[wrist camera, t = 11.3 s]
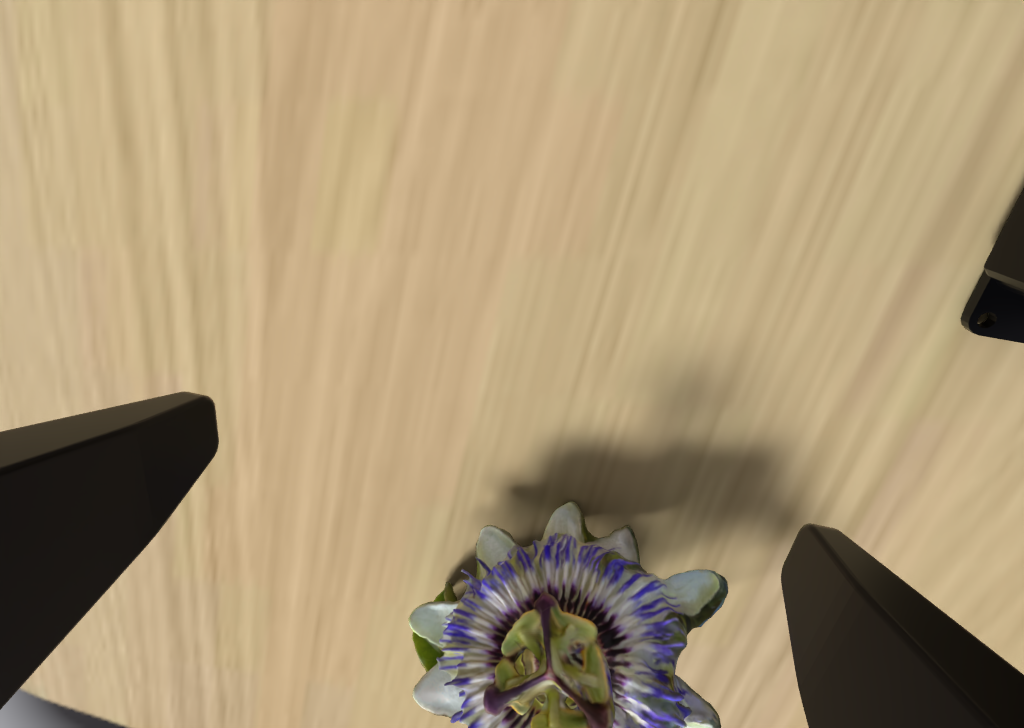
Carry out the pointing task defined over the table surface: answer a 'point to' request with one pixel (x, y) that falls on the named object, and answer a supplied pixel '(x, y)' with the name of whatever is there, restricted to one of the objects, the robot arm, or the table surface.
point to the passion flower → (564, 635)
